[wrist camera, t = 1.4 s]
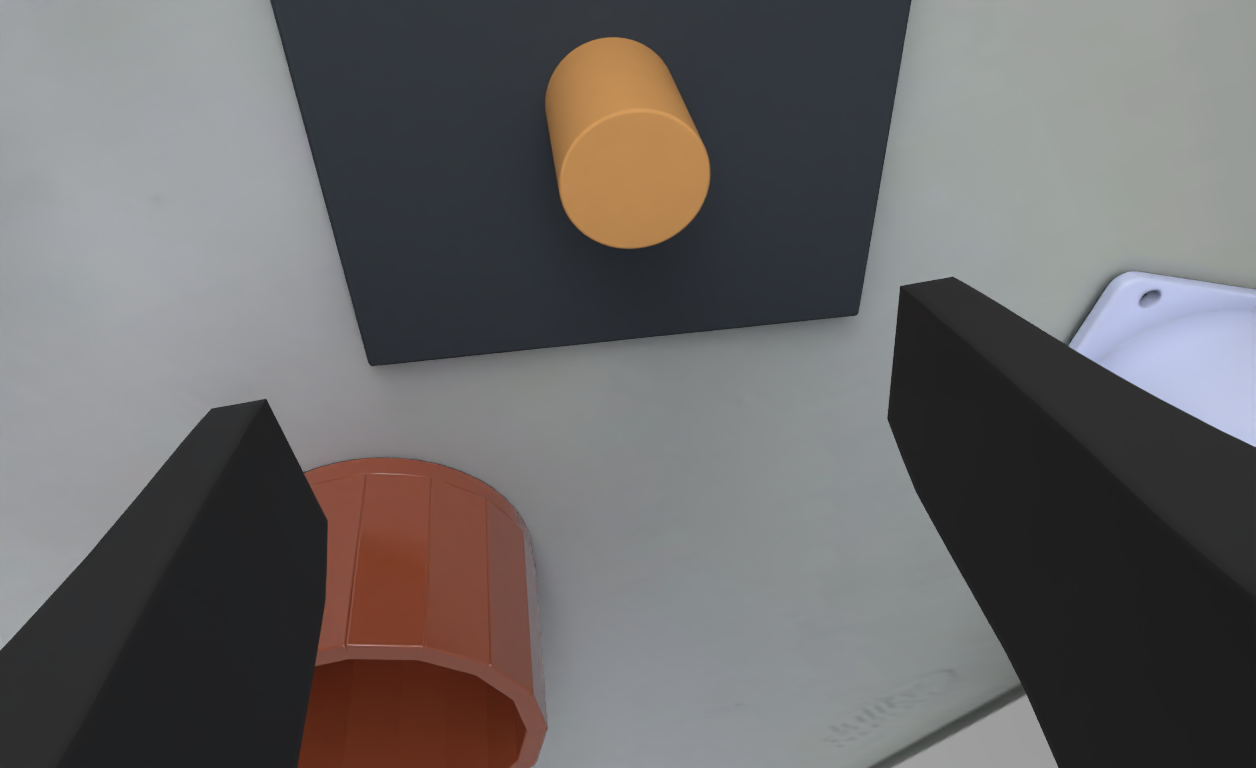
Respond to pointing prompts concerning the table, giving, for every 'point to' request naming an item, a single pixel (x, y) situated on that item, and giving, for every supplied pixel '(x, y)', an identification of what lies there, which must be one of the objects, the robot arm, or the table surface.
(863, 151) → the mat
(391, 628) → the cup
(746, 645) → the table surface
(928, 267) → the table surface
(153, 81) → the table surface
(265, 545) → the robot arm
